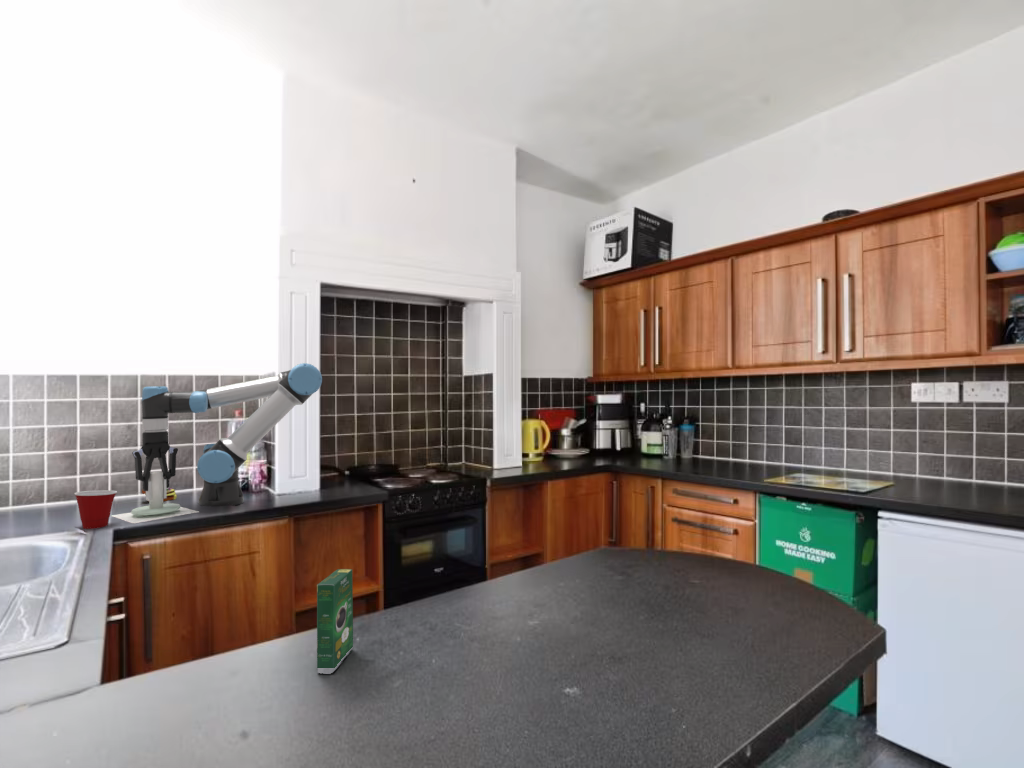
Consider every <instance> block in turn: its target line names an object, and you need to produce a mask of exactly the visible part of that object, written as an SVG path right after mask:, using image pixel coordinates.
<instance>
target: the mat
mask: <svg viewBox="0 0 1024 768" xmlns="http://www.w3.org/2000/svg"><path fill="white" fill-rule="evenodd" d="M196 513H200V511H198V510H194V509H190V508H187V507H182V506H180V509H179V510H176V511H172V512H168V513H162V514H154V515H133V514H132V511H131V512H125V513H119V514H113V515H111V517H113V518H115V519H117V520H118V519H119V520H122V521H125V522H126V523H130V524H138V523H144V522H151V521H155V520H162V519H168V518H173V517H179V516H185V515H191V514H196Z"/></svg>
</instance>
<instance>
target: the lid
mask: <svg viewBox="0 0 1024 768" xmlns="http://www.w3.org/2000/svg"><path fill="white" fill-rule="evenodd" d="M163 479H164V478H163V472H162V471H155V472H154V471H153V472H150V476H149V481H151V498H152V501H149V502H148V503H149V504H148V505H145V506H138V507H136V508H133V509H131V512H132V514H133V515H154V514H162V513H168V512H172V511H176V510H179V509H180V507H181V504H179V503H164V502H163Z"/></svg>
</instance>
